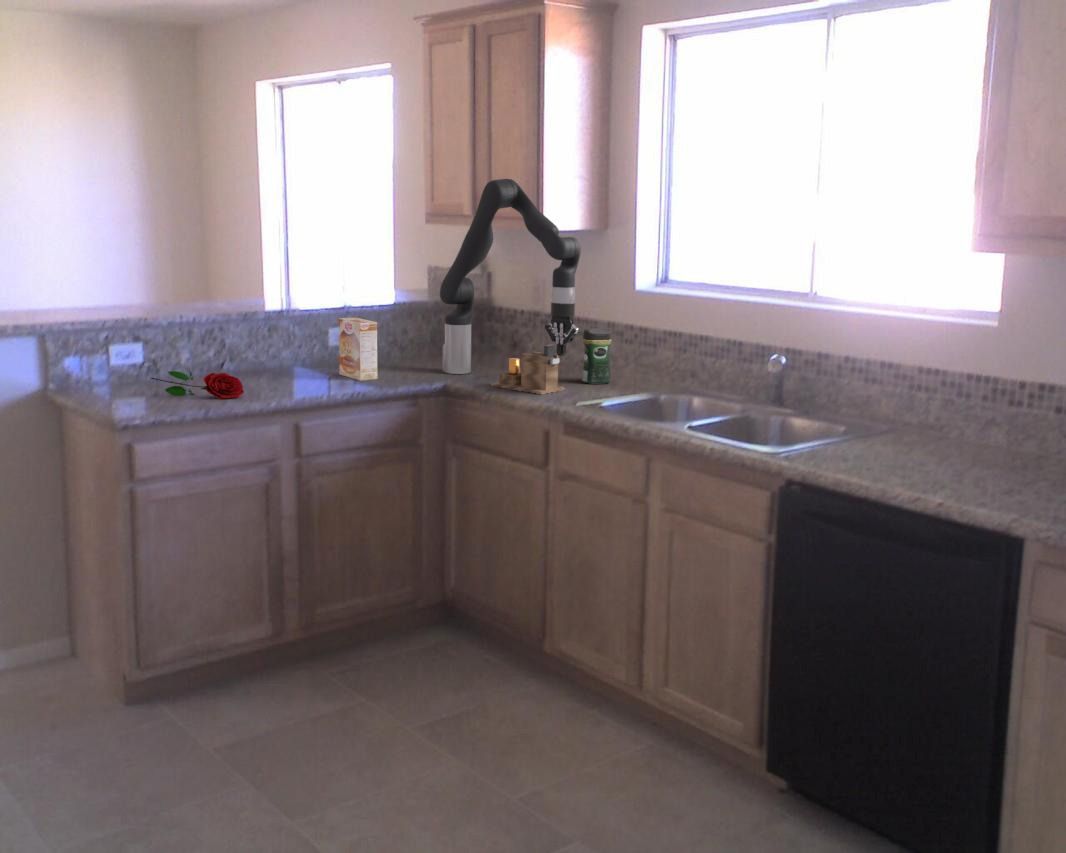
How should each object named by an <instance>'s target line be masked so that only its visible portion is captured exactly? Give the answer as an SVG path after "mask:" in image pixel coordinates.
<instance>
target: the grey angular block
mask: <svg viewBox="0 0 1066 853" xmlns="http://www.w3.org/2000/svg"><path fill="white" fill-rule="evenodd" d="M555 347H556V346H555V344H543V353H544V356H547V357H548V364H557V363H558V364H560V362H561V359H560V358H555V357H554V355H555V350H556V349H555ZM533 355H534V354H533ZM540 356H541V355H540Z"/></svg>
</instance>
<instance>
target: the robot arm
mask: <svg viewBox="0 0 1066 853" xmlns="http://www.w3.org/2000/svg"><path fill="white" fill-rule="evenodd" d="M507 208H511V209H514V210H515V211H516V212H518V213H519V214H520V215H521V216H522V218H523V223H524V225H525V228H526V230H527V231H528V232H529V233H530V234H531V235H532V236H533V237H534V238H535V239H537V241H538V242H540V243H541V245H542V247H543V248H544V249H545V251H546V253H547V254H548V255H549V256H550V258H552V259H554V260H557V261H560V265H559V266H558V267H556V268H554V270H553V272H552V284H551V285H552V288H551V295H550V316H551V318H550V322H549V323H548V324H545V325H544V328H545V330H546V332H547V334H548V336H549V338H550V340H551V342H555V344H556V355H558V356H559V357H565V356H566V353H567V344H569V343H570V344H572V342H573V341H574V340H575V338H576V336H577V335H578V334H579V333H580V327H577V326H576V325H575V321H574V318H575V317H574V316H575V309H576V290H575V289H576V288H575V285H576V272H577V269H578V266H579V261H580V258H581V254H582V253H581V250H582V248H581V243H580V241H579V240H578V239H577V238H575V237H573V236H561V235H560V230H559V227H557V225H556V224H554V223H553V221H552V220H550V219H549V218H548V217H547V216H545V215H544V213H542V212H541V211H540V209H538V208H537V206H536V205H535V204H534V203H533V201H532V200H531V199H530V198H529V196H528V195H527V194H526V193H525V191H524V190H523V188H522V187H521V186H520V185H519V184H518V183H517V182H516V181H515V180H513V179H511V178H502V179H501V178H499V179H494V180H490V181H488V182H487V183H486V184H485V186H484V187H483V190H482V193H481V196H480V199H479V203H478V205H477V209H476V211H475V214H474V216H473V218H472V221H471V223H470V226H469V229H468V230H467V232H466V234H465V236H464V239H463V241H462V243H461V246H460V248H459V251H458V253H457V255H456V257H455V259H454V261H453V262H452V265H451V266H450V268H449V270H448V272H447V273H446V275H445V276H444V278H443V280H442V282H441V284H440V288H439V298H440V301H442V303H443V304H444V305H451V306H452V305H456V308H454V310H453V311H451V312H449V313H447V314H446V315H445V317H444V344H442V372H444V373H445V374H452V375H466V374H470V373H471V372H472V370H471V368H472V367H471V366H472V364H471V363H472V318H473V316H474V302H475V286H474V283H473V281H472V279H471V278H469V277H466V276H468V275H469V274H470V273H471V272H472V271H473V270H474V269H476V268H477V267H478V266H479V265H480V264H482V262H484V260H485V259H486V258H487V256H488V254H489V252H490V251H491V248H492V246H493V243H494V231H493V225H492V224H493V220H494V218H495V216H496V213H497V212H498V211H499V210H500V209H507Z"/></svg>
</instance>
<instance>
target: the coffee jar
mask: <svg viewBox="0 0 1066 853" xmlns="http://www.w3.org/2000/svg"><path fill="white" fill-rule="evenodd" d="M582 343H583V347H584V355H583V364H582V371H581V372H582V373H581V381H582V382H583V383H584V384H592V385H601V384H602V385H603V384H608V383H610V382H611V380H612V379H611V366H610V365H611V364H610V348H611V344H612V333H611V329H608V328H605V327H604V328H603V327H602V328H600V327H592V328H585V329H584V330H583V337H582Z"/></svg>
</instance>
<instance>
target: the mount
mask: <svg viewBox="0 0 1066 853" xmlns="http://www.w3.org/2000/svg"><path fill="white" fill-rule="evenodd" d="M533 354H534V355H533ZM540 355H541V356H540ZM554 357H555V358H559V357H560V356H558V355H557V354H554ZM558 383H559V363H557V364H548V357H547V356H544V352H538V351H531V353H526V352H525V353H524V352H522V353H521V364H520V375H517V376H514V375H509V371H508V372H503V373H500V374H499V381H497V382H491V383H490V387H493V386H495V387H494V388H499V387H501V388H500V389H505V388H506V390H511V389H512V391H516V390H518V392H522V391H524V392H523V393H528V392H530V393H529V394H534V393H536V395H539V394H542V395H547V394H546V393H548V394H552V393H551V392H553V393H558V392H563V390H564V391H565V387H566V386H565V387H564V386H559V384H558ZM557 391H558V392H557Z"/></svg>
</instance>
